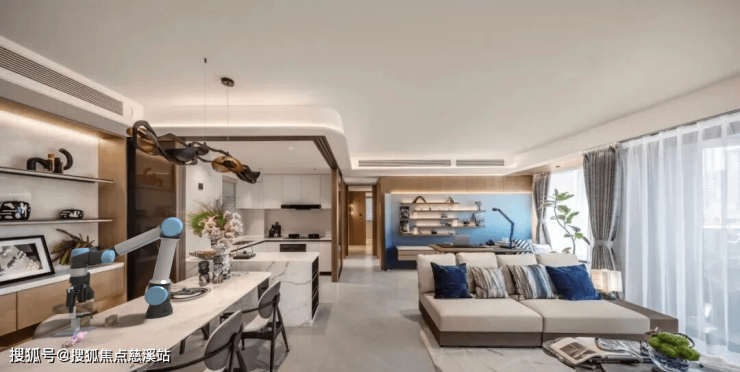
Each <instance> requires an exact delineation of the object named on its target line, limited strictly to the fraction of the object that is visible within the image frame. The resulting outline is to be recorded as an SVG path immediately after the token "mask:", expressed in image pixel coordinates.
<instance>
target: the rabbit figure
mask: <svg viewBox="0 0 740 372" xmlns="http://www.w3.org/2000/svg"><path fill="white" fill-rule="evenodd" d="M87 333H88V332H87V331H86V332H79V333H77V334H76V333H74V334H73V336H71V338H70V340H68V341H65V343H64V344H63V347H62V348H71V347H74V345H76V344H75V343H79V342H80V341H82V340H84V336H86V334H87Z"/></svg>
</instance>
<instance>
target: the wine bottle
mask: <svg viewBox="0 0 740 372" xmlns="http://www.w3.org/2000/svg"><path fill="white" fill-rule="evenodd" d="M86 275H87V281H86V282H84V283H85V284H88V288H87V300H86V301H85V302H95V298H94V297H95V291H94V290H93V288H92V287H91V286H90V285H91V272H90V271H87V274H86ZM76 303H78V297H77V298H76ZM85 316H90V320H91V319H93V317H94V312H85V313H83V314H82V315H80V316H76V315H75V318H79V317H80V318H82V317H85ZM92 316H93V317H92Z"/></svg>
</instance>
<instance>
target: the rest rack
mask: <svg viewBox="0 0 740 372" xmlns="http://www.w3.org/2000/svg"><path fill="white" fill-rule="evenodd" d="M118 318H119V314H118V313H115V314H114V313H113V314H111V315H109V316H107V317H105V318H104V328H107V327H112V326H114V325H116V324H118V321H119V320H118ZM90 324H91V319H90V316H85V317H82V318H80V327H89V326H91V325H90Z"/></svg>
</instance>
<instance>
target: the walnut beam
mask: <svg viewBox="0 0 740 372" xmlns="http://www.w3.org/2000/svg"><path fill="white" fill-rule="evenodd" d="M75 306H76V311H75V314H76V313H85V312H93V313H94V312H96V311H98V310H99V309H100V301H94V302H81V303H77V302H75ZM66 314H67V315H69V307H66V302H65V303H58V304H55V305H52V308H51V315H66Z"/></svg>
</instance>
